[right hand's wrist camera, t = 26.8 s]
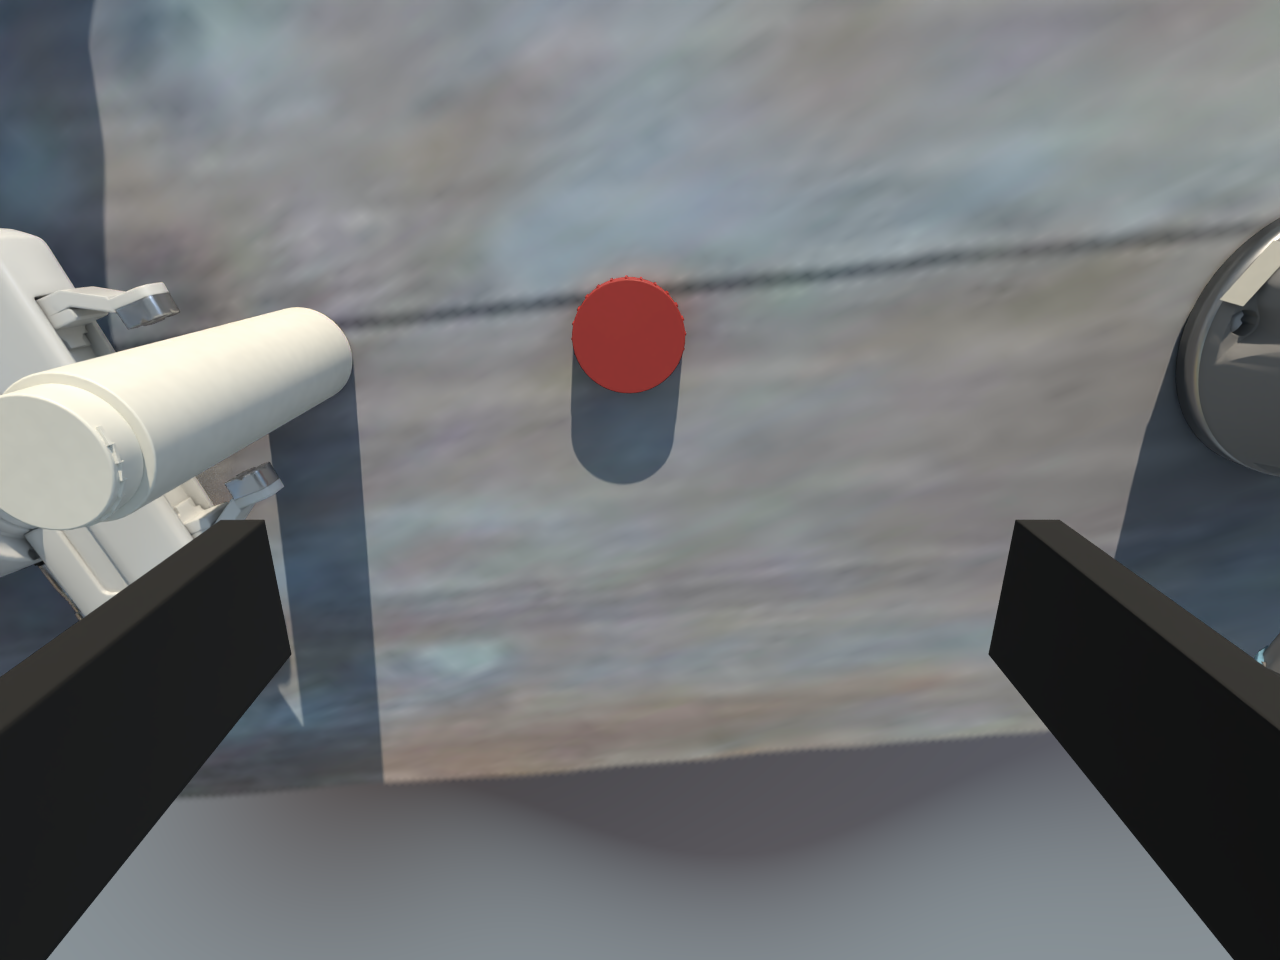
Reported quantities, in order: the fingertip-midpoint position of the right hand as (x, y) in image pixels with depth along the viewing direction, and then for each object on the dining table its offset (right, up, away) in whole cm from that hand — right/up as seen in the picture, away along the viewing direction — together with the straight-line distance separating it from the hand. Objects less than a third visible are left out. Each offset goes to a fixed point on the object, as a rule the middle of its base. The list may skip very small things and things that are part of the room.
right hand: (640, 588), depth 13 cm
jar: (-19, +9, +27) cm, 34 cm away
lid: (-1, +10, +26) cm, 27 cm away
